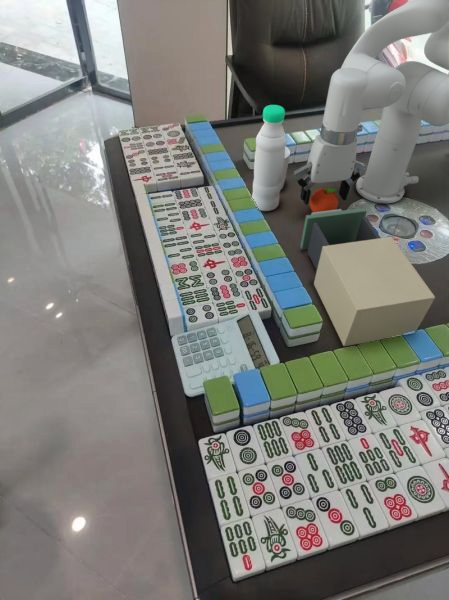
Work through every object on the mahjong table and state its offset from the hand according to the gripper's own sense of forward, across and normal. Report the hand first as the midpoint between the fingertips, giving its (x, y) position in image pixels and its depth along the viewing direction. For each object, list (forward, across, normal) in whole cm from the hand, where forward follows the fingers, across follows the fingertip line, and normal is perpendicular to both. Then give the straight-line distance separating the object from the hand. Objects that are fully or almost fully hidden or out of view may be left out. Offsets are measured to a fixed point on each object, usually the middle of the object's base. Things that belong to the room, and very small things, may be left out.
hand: (323, 199), depth 105 cm
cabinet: (+5, +3, +31) cm, 32 cm away
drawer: (+4, +3, +17) cm, 18 cm away
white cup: (+5, +8, -15) cm, 18 cm away
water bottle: (+5, +12, -7) cm, 15 cm away
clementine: (+5, -1, 0) cm, 5 cm away
